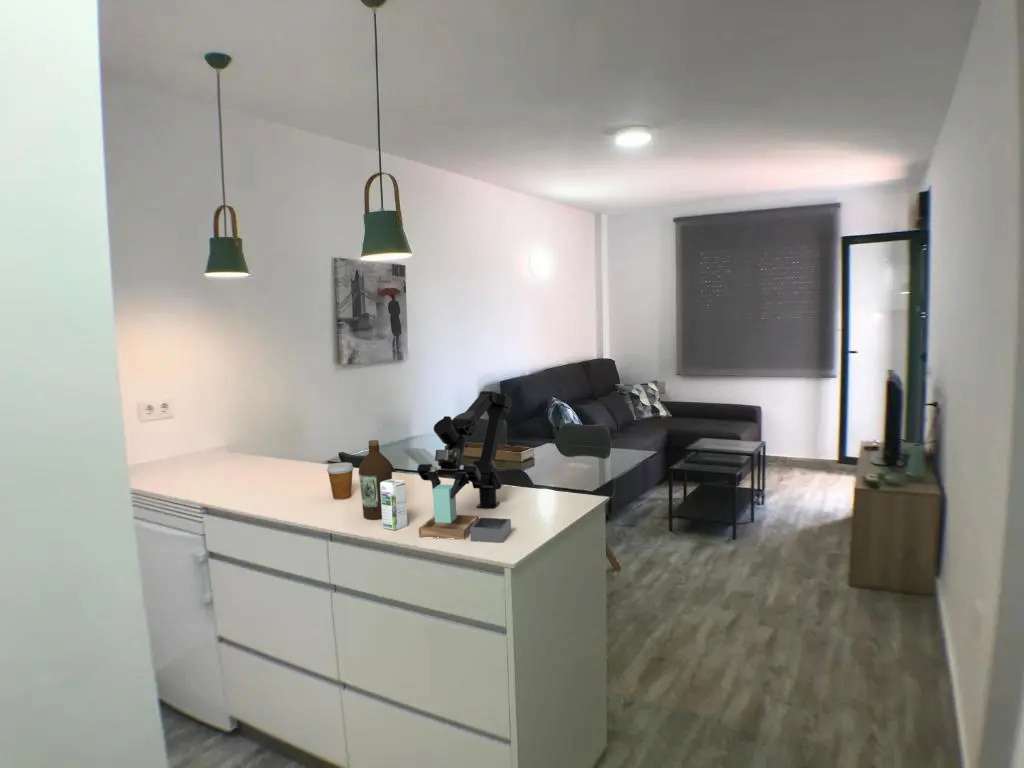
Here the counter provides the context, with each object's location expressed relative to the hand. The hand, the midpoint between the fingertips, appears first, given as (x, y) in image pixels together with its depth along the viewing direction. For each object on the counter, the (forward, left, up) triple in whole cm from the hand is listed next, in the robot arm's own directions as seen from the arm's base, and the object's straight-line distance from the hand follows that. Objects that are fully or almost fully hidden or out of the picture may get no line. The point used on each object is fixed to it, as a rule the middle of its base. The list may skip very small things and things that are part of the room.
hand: (442, 497), depth 197 cm
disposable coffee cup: (-34, -53, -12) cm, 65 cm away
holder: (-1, +14, -11) cm, 18 cm away
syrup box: (-5, -18, -12) cm, 22 cm away
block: (-1, 0, -7) cm, 7 cm away
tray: (-4, 0, -11) cm, 12 cm away
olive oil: (-15, -29, -12) cm, 35 cm away
